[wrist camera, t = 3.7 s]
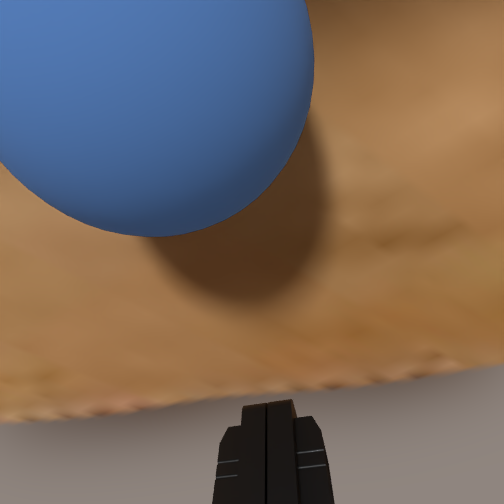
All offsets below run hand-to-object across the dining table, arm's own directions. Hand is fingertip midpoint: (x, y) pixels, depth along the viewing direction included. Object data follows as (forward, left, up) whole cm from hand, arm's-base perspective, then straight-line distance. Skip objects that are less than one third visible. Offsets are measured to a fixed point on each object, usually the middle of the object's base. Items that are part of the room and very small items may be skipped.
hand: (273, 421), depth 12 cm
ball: (0, +10, 0) cm, 10 cm away
